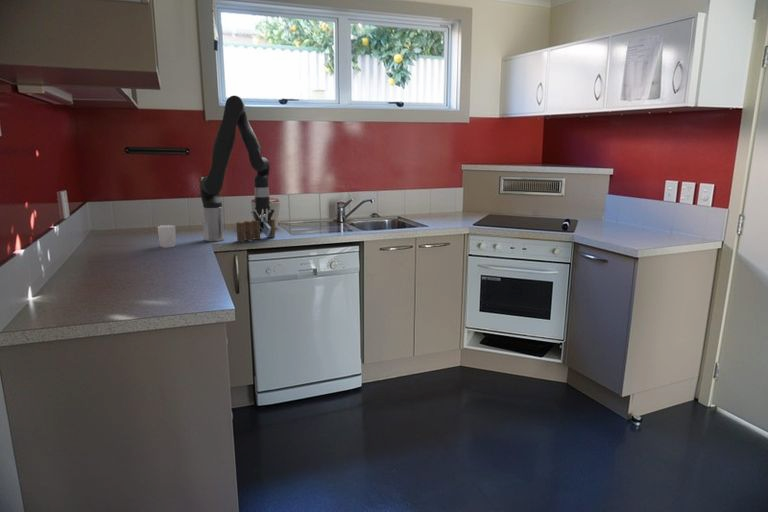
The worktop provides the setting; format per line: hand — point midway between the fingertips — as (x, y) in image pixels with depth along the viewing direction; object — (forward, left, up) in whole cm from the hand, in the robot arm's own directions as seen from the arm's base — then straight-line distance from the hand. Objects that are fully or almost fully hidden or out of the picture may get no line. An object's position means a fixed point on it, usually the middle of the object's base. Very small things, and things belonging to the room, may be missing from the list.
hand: (263, 228), depth 274 cm
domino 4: (0, -5, -1) cm, 5 cm away
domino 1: (-14, 0, -5) cm, 15 cm away
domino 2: (-9, 0, -5) cm, 11 cm away
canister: (+18, +27, -6) cm, 33 cm away
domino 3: (-5, 0, -5) cm, 7 cm away
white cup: (-47, +12, -6) cm, 48 cm away
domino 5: (+4, 0, -5) cm, 7 cm away
